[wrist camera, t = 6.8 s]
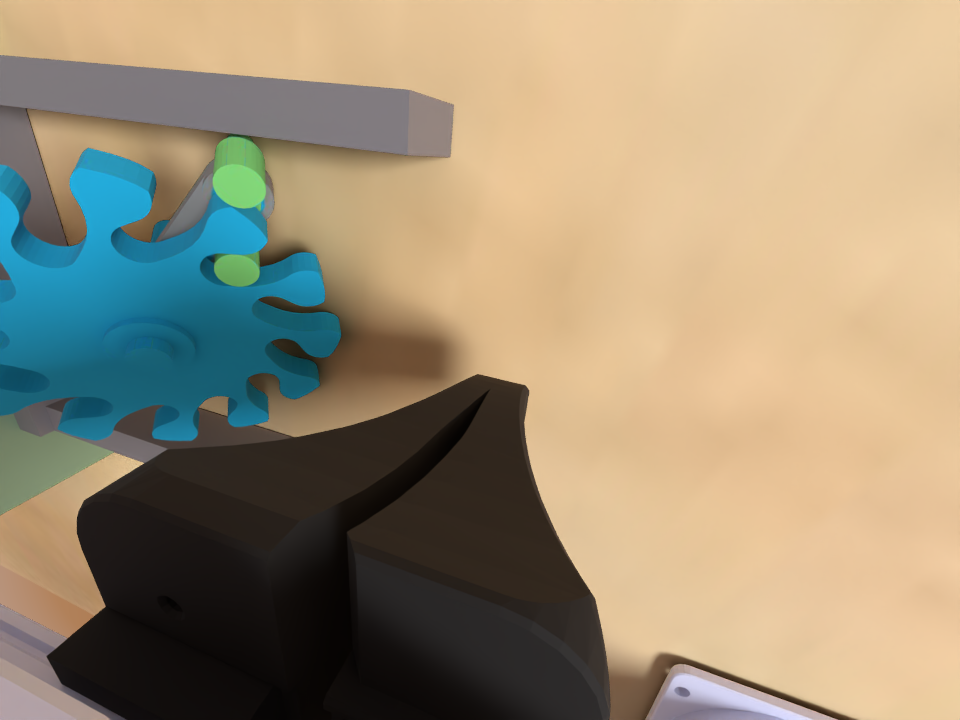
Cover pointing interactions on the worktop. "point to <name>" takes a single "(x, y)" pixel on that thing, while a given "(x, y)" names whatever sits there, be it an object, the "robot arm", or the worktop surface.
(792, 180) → the worktop surface
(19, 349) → the gear
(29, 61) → the green block with rails
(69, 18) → the worktop surface
